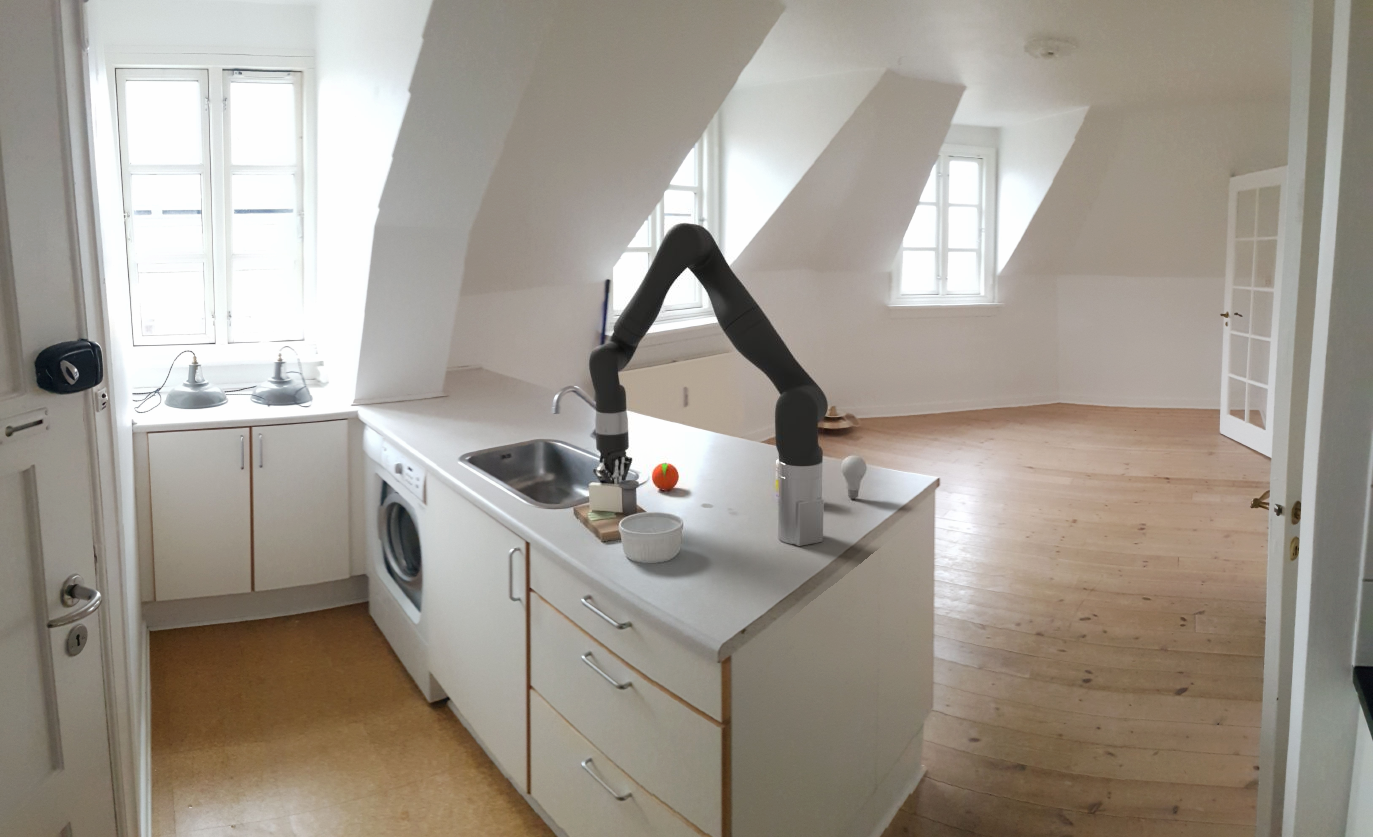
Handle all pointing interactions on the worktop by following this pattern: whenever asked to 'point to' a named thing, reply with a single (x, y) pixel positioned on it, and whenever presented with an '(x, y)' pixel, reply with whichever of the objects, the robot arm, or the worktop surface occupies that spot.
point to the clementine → (665, 476)
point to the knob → (614, 497)
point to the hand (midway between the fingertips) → (614, 500)
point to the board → (602, 521)
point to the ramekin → (651, 536)
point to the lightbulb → (853, 474)
